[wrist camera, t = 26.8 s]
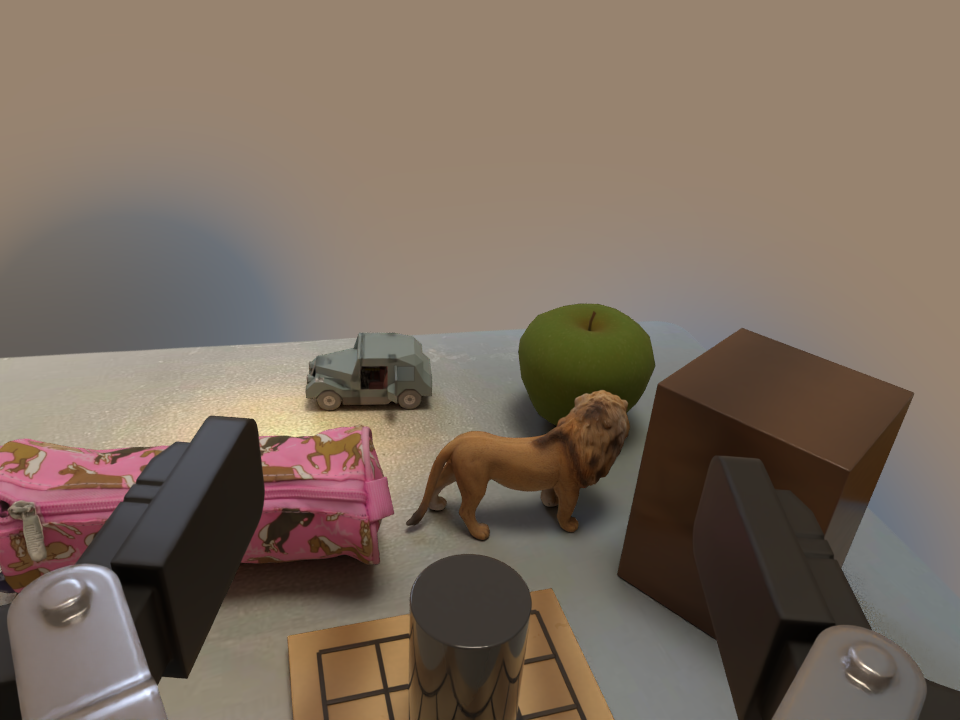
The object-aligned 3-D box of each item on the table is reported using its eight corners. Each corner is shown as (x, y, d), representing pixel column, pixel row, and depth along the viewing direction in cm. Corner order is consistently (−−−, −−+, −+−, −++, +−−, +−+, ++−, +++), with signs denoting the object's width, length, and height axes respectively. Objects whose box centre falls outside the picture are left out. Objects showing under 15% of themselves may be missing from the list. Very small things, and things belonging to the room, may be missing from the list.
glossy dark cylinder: (535, 733, 35) (556, 598, 30) (461, 810, 31) (473, 672, 27) (459, 668, 38) (469, 536, 33) (384, 732, 34) (384, 596, 30)
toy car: (311, 383, 63) (308, 332, 60) (428, 382, 64) (429, 332, 62) (304, 426, 57) (301, 373, 55) (433, 424, 59) (435, 371, 56)
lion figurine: (595, 476, 54) (614, 371, 50) (628, 525, 50) (652, 415, 45) (398, 506, 50) (399, 394, 45) (415, 562, 45) (418, 444, 41)
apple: (544, 373, 67) (556, 271, 62) (657, 409, 62) (680, 303, 58) (488, 431, 58) (497, 319, 53) (614, 477, 54) (636, 360, 49)
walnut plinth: (836, 579, 46) (915, 392, 40) (770, 675, 40) (850, 471, 33) (695, 502, 52) (741, 327, 45) (616, 575, 46) (657, 383, 39)
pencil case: (-11, 638, 39) (-62, 510, 34) (48, 519, 47) (12, 402, 42) (395, 603, 43) (395, 484, 38) (386, 498, 50) (386, 389, 46)
